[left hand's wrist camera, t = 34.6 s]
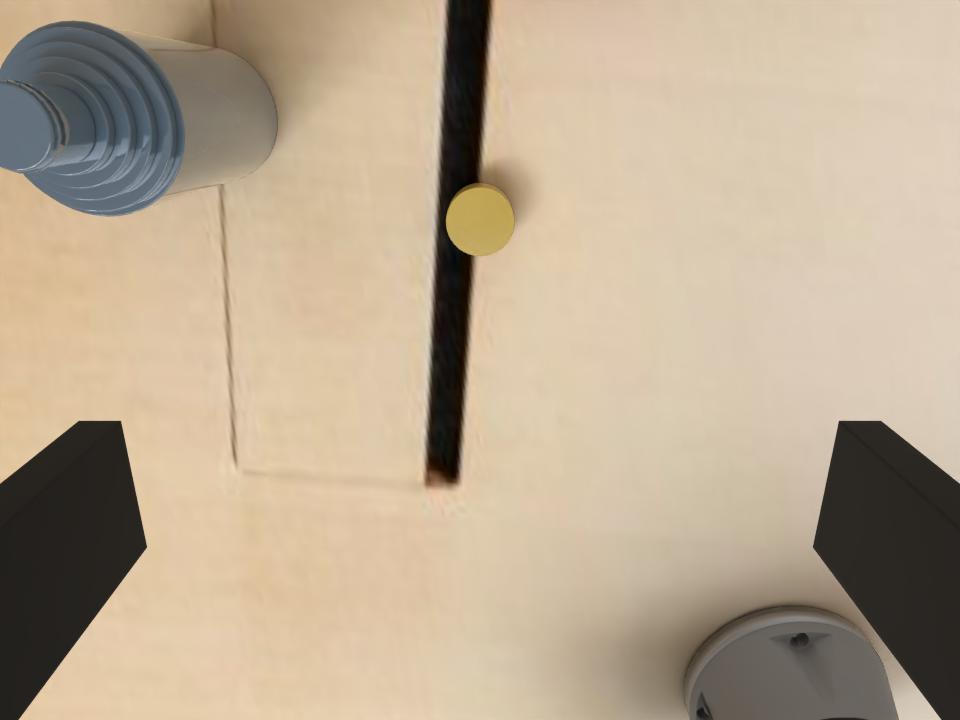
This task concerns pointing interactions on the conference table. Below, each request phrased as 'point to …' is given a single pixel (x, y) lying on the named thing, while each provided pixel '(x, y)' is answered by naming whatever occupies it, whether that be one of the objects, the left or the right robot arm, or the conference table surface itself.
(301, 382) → the conference table surface
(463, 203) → the cap
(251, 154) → the bottle
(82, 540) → the left robot arm
